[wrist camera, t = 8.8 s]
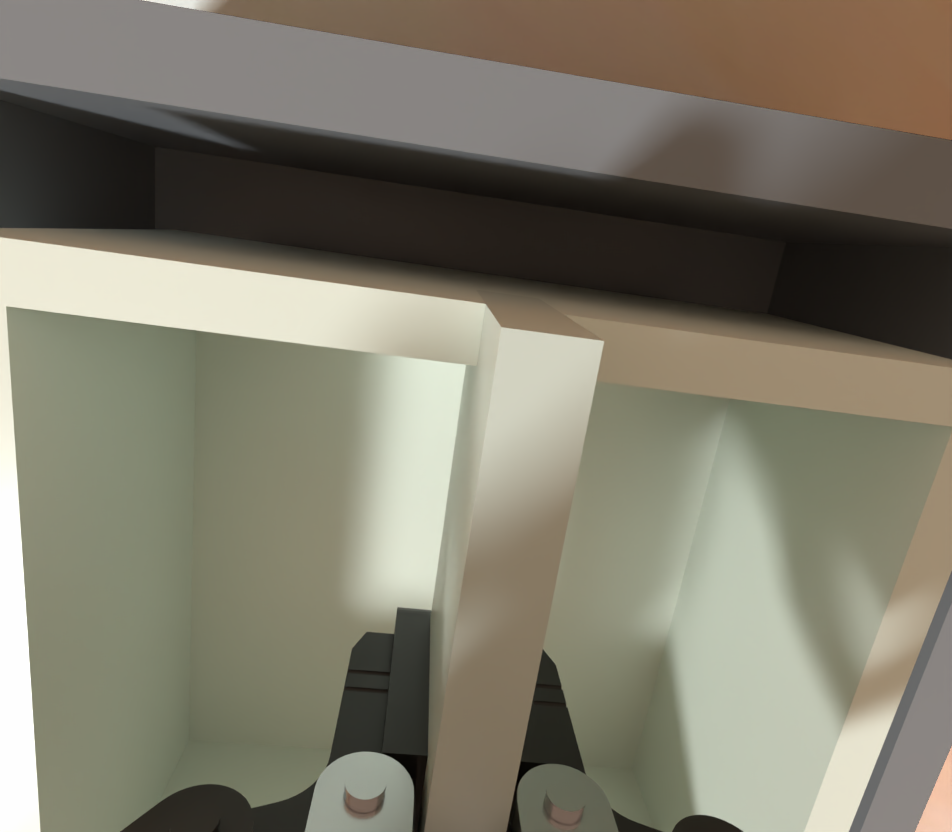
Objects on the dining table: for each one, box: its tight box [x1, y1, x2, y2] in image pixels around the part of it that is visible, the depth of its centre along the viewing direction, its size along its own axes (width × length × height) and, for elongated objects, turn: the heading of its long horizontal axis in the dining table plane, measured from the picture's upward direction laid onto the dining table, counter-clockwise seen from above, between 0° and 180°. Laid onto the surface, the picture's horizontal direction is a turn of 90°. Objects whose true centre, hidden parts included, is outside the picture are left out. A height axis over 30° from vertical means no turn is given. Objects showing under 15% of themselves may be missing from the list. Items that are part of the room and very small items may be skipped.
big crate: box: [0, 0, 952, 832], centre depth 16 cm, size 20×20×10 cm
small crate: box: [0, 228, 952, 832], centre depth 12 cm, size 14×14×9 cm
